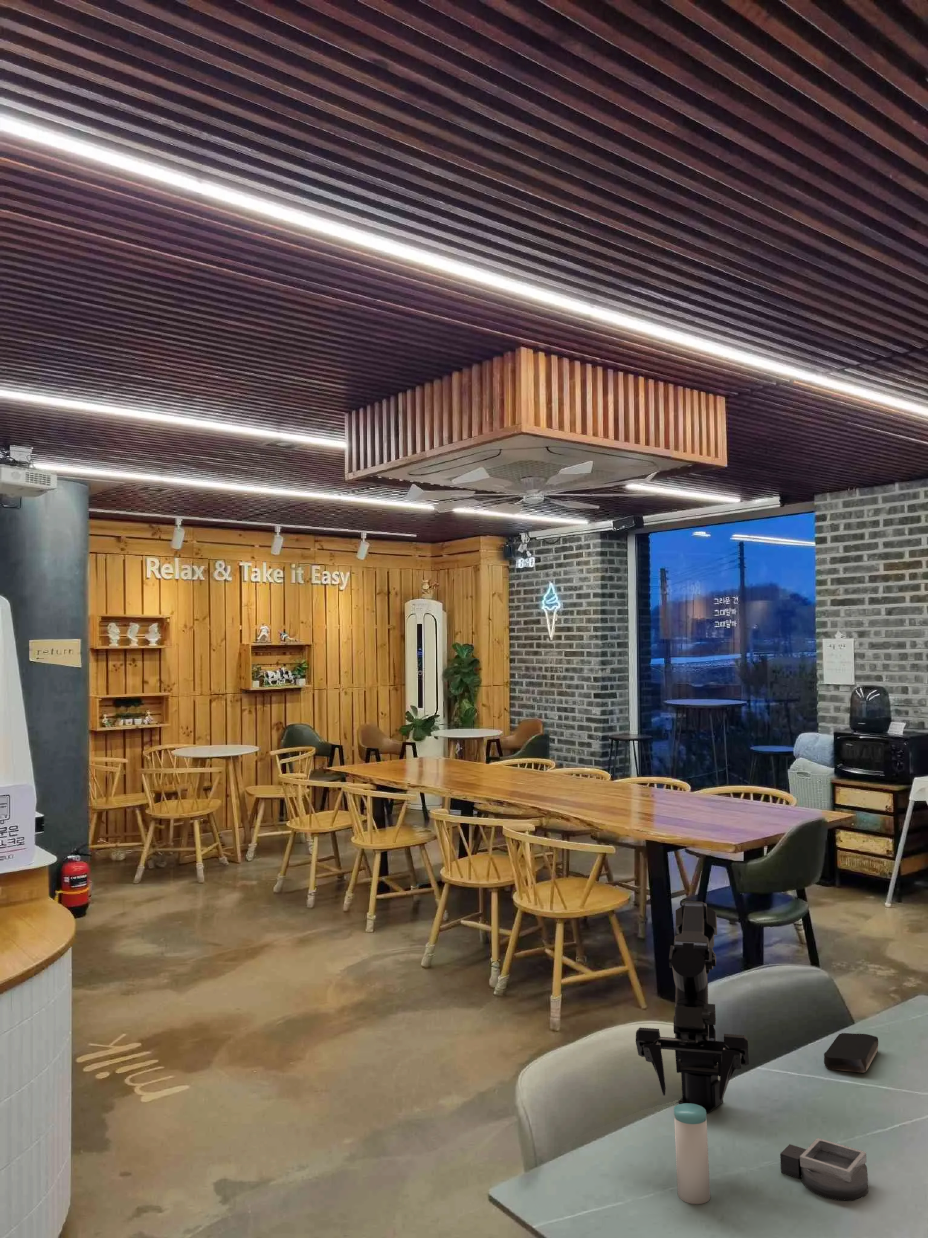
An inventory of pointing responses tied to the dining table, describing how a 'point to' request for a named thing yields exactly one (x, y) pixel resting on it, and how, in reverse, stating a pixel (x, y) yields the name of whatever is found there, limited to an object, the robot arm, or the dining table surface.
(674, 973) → the robot arm
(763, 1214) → the dining table surface
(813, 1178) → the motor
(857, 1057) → the black sponge
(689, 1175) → the beige teal capped bottle
